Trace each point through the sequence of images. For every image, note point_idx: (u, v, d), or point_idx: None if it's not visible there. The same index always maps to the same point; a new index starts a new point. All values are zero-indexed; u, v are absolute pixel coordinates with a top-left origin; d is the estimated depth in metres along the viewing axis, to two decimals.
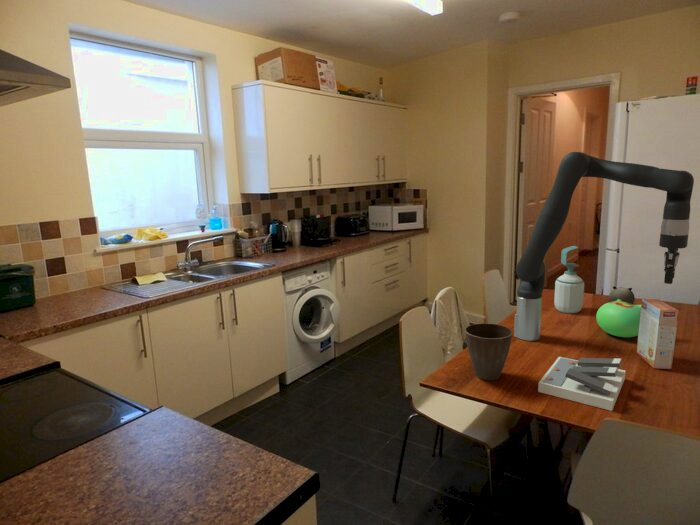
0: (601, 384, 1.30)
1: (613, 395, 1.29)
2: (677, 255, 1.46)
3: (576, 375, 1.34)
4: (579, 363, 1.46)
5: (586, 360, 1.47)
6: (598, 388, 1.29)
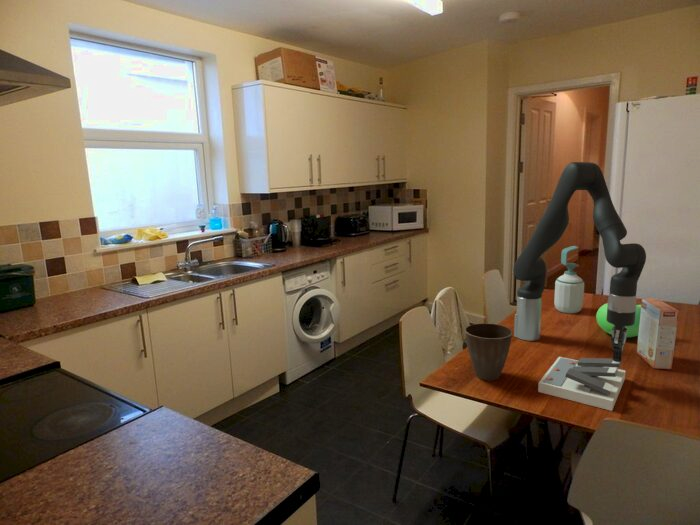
0: (601, 384, 1.30)
1: (613, 395, 1.29)
2: (624, 334, 1.37)
3: (576, 375, 1.34)
4: (579, 363, 1.46)
5: (586, 360, 1.47)
6: (598, 388, 1.29)
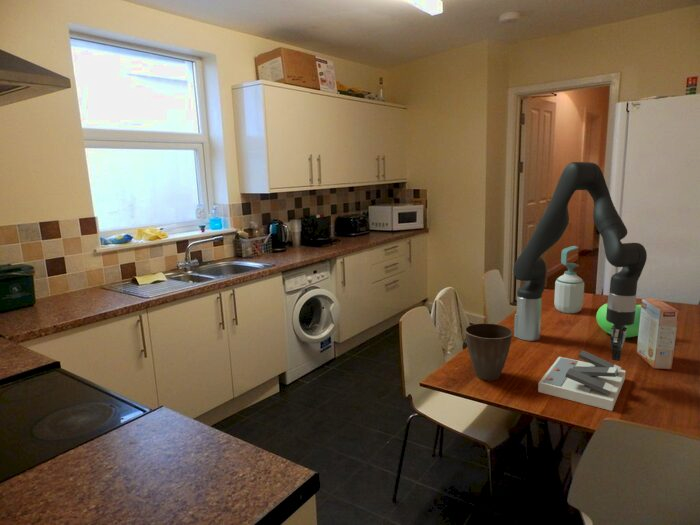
0: (601, 384, 1.30)
1: (613, 395, 1.29)
2: (624, 333, 1.37)
3: (576, 375, 1.34)
4: (580, 356, 1.46)
5: (588, 356, 1.46)
6: (598, 388, 1.29)
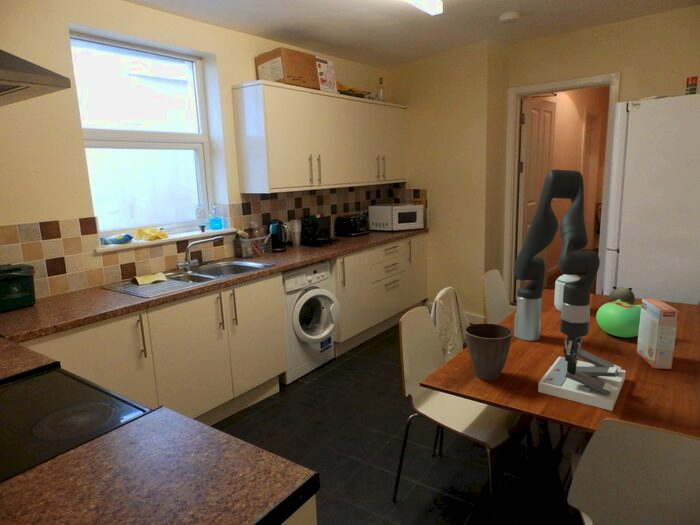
0: (601, 384, 1.30)
1: (613, 395, 1.29)
2: (578, 345, 1.31)
3: (576, 375, 1.34)
4: (580, 355, 1.46)
5: (588, 356, 1.46)
6: (598, 388, 1.29)
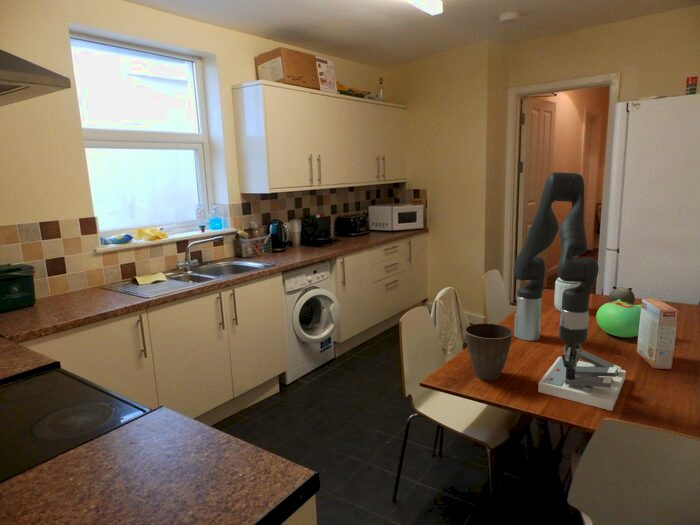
0: (600, 380, 1.30)
1: (613, 395, 1.29)
2: (576, 351, 1.31)
3: (575, 379, 1.34)
4: (580, 355, 1.46)
5: (588, 356, 1.46)
6: (598, 384, 1.29)
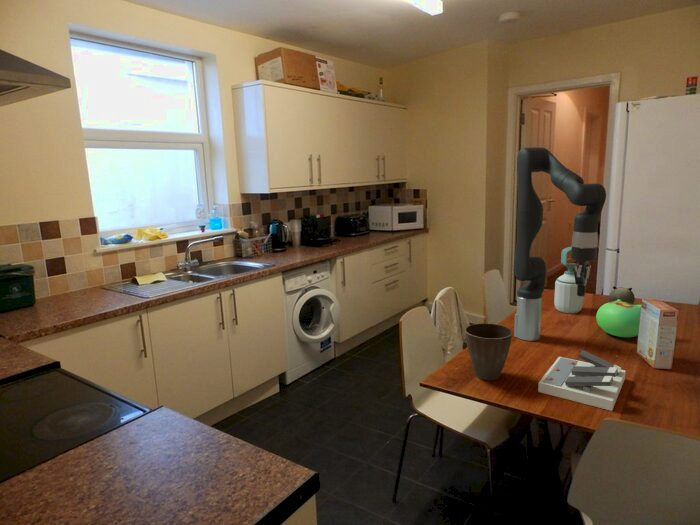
0: (600, 379, 1.30)
1: (613, 395, 1.29)
2: (587, 269, 1.47)
3: (575, 380, 1.34)
4: (580, 355, 1.46)
5: (588, 356, 1.46)
6: (598, 383, 1.29)
